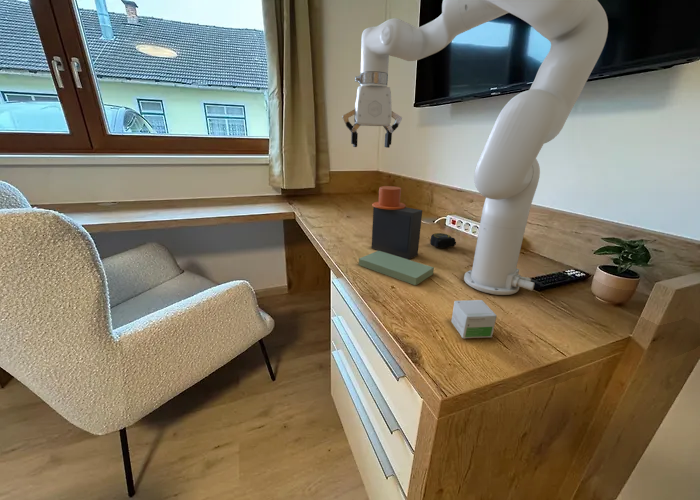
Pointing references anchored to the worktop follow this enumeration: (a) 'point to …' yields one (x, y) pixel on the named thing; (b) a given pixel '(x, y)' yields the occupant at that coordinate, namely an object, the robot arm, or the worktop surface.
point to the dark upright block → (397, 231)
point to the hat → (389, 198)
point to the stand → (396, 267)
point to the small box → (473, 319)
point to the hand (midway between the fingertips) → (371, 147)
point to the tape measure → (442, 240)
